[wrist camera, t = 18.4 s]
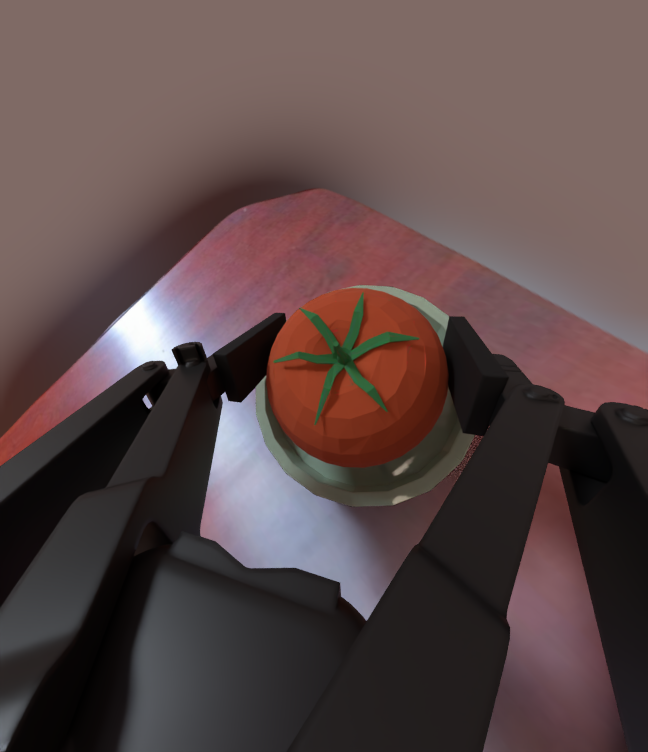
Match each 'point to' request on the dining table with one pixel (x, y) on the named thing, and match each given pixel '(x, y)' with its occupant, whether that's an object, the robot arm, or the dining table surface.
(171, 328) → the dining table surface
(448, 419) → the bowl
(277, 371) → the tomato
